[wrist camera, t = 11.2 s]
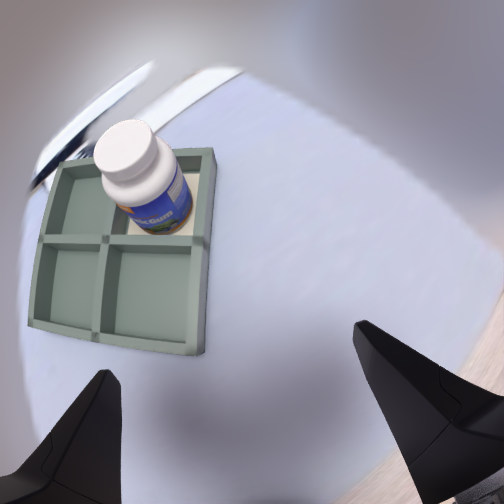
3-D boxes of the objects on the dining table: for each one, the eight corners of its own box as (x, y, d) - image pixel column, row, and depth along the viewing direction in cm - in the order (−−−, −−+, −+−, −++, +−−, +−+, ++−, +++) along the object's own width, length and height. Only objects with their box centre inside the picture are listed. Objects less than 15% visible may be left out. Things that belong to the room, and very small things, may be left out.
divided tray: (204, 352, 21) (196, 356, 19) (46, 327, 22) (27, 326, 19) (217, 165, 26) (212, 147, 23) (73, 175, 26) (59, 162, 23)
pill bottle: (131, 236, 24) (71, 186, 14) (143, 181, 25) (97, 116, 15) (190, 238, 23) (150, 182, 14) (198, 180, 25) (171, 107, 15)
